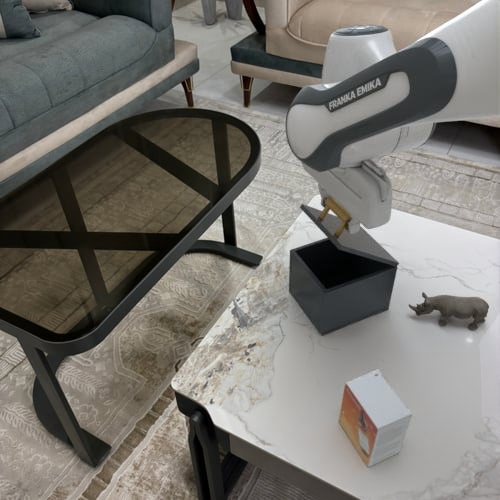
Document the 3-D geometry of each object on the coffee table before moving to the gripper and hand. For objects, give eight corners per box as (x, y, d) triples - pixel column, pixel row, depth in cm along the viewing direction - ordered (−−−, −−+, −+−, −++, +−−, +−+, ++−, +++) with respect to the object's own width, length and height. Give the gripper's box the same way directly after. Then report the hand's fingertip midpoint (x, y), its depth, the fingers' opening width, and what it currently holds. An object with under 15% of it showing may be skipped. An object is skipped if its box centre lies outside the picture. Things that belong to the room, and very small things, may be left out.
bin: (321, 336, 89) (325, 293, 82) (288, 291, 97) (289, 249, 90) (388, 309, 93) (397, 267, 86) (351, 269, 101) (357, 227, 95)
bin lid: (338, 249, 76) (356, 224, 75) (299, 207, 85) (314, 183, 83) (396, 266, 86) (413, 244, 84) (356, 227, 94) (370, 206, 93)
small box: (337, 421, 76) (343, 381, 69) (369, 408, 77) (378, 367, 71) (367, 469, 70) (377, 429, 63) (400, 453, 72) (413, 413, 65)
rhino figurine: (405, 307, 93) (411, 284, 89) (483, 315, 91) (492, 292, 87) (406, 323, 90) (412, 300, 86) (487, 333, 88) (496, 309, 84)
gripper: (410, 170, 66) (394, 249, 75) (329, 111, 81) (323, 183, 90) (371, 181, 64) (358, 261, 73) (295, 119, 79) (292, 192, 88)
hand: (338, 218), depth 82 cm, fingers closed on bin lid, 6 cm apart
